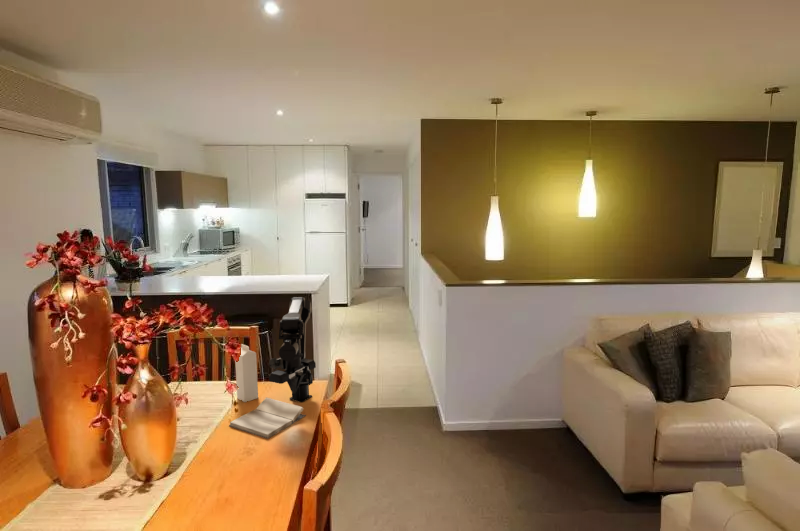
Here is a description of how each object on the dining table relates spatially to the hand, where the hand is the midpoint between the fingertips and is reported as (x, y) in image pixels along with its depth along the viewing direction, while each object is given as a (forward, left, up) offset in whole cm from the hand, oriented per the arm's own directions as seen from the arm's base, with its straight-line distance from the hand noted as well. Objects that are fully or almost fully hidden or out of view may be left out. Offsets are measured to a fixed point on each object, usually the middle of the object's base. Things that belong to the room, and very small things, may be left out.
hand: (293, 393), depth 166 cm
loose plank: (+1, -6, -7) cm, 10 cm away
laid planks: (+11, -6, -9) cm, 15 cm away
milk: (-3, -28, -9) cm, 30 cm away
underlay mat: (+7, -6, -9) cm, 13 cm away
